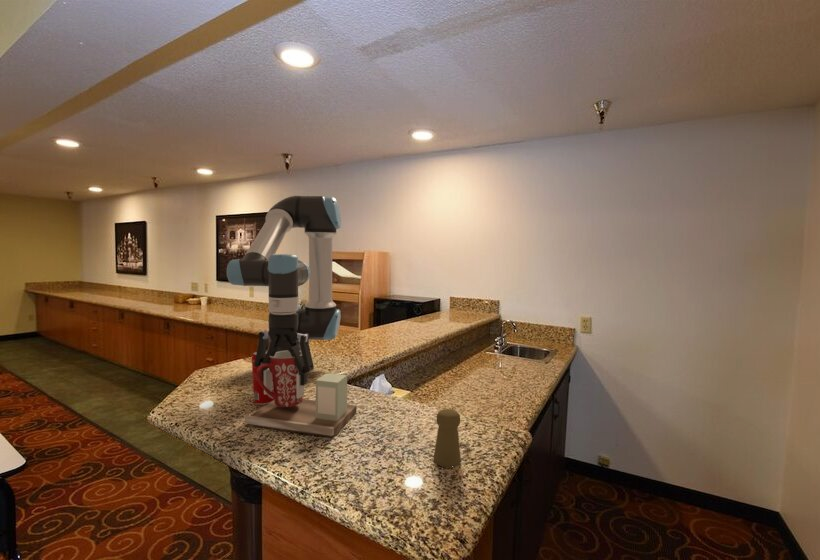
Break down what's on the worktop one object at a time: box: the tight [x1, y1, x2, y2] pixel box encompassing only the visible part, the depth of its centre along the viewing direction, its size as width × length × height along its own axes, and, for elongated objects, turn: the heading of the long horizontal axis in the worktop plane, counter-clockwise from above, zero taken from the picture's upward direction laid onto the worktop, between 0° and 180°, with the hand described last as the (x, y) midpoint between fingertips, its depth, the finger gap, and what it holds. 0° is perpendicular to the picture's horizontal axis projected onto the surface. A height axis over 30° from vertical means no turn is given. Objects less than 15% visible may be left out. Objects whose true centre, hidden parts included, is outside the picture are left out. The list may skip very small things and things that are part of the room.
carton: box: [315, 372, 348, 421], centre depth 101 cm, size 6×6×10 cm
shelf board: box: [244, 398, 357, 438], centre depth 103 cm, size 16×24×3 cm, turn 77°
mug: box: [256, 350, 304, 407], centre depth 104 cm, size 13×9×14 cm
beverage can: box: [251, 349, 274, 406], centre depth 114 cm, size 6×6×15 cm
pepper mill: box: [433, 408, 462, 468], centre depth 84 cm, size 6×6×11 cm
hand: (283, 394), depth 105 cm, fingers closed on mug, 9 cm apart
